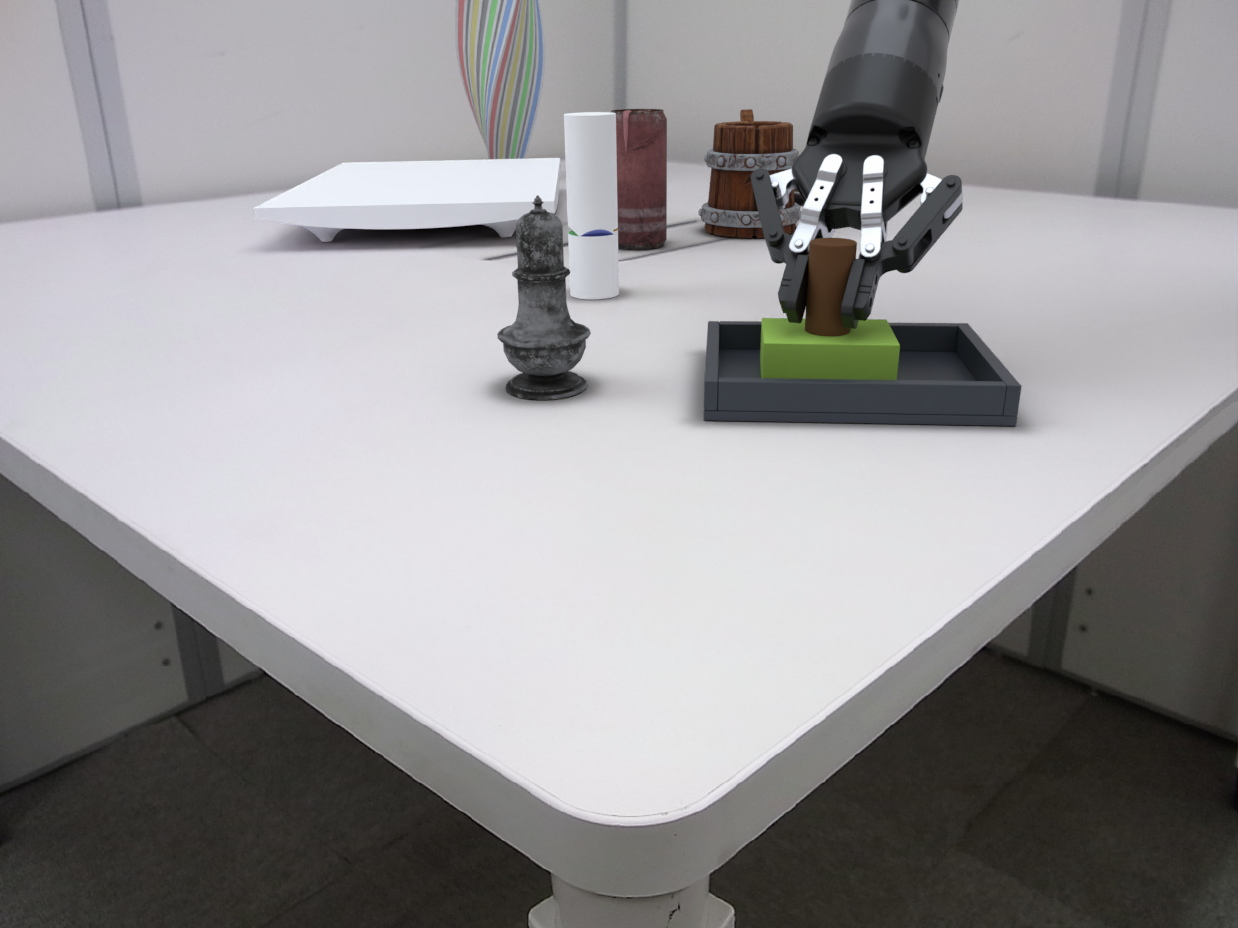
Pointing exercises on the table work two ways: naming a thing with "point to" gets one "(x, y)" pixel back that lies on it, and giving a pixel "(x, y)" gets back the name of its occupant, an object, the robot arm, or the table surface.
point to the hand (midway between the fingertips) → (820, 318)
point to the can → (641, 178)
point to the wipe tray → (865, 382)
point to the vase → (502, 70)
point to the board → (417, 195)
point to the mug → (746, 175)
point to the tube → (592, 204)
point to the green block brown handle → (828, 328)
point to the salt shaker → (543, 314)
